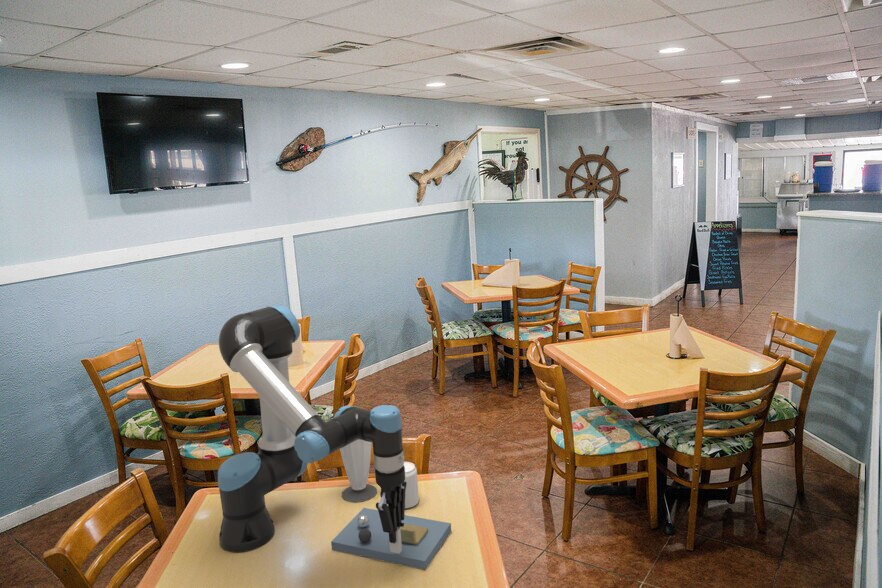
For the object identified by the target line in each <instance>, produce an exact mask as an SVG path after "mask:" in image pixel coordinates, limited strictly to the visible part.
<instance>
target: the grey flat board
mask: <svg viewBox="0 0 882 588" xmlns="http://www.w3.org/2000/svg"><path fill="white" fill-rule="evenodd" d="M360 515H366V516H368V518H369V524H368V526H366V527H365V528H361V527H359V526H358V525H357V518H358V517H359V516H360ZM402 523H404V525H405V524H409V525H414V526H419V527H425V528H428V532H427V533H426V535H425V536H424V537H423V539H422V540H421V542H420V543H419V544H418V545H414V544H409V543H404V542H401V543H402V551H401V552H400V554H399V553H394V552H390V543H389V533H387V532H383V528H382V524H381V520H380V516H379V512H378V509H374V508H369V507H362V509H361V510H359V512H358V513H357V514H355V516H354V517H353V518H352V519H351V520H350V522H348V523H347V525H346V526H345V527H344V528H343V529H342V530H340V532H339V533H338V534H337V535H336V536H335V537H334V538H333V539H332V540H331V551H336V552H340V553H344V554H350V555H354V556H359V557H363V558H369V559H372V560H378V561H380V562H381V561H382V562H387V563H392V564H396V565H401V566H406V567H411V568H415V569H420V570H424V571H426V570H427V569H428V567H429V566H430V564H431V563H432V561H433V560H434V559H435V557H436V555H437V553H438V552H439V550H440V549H441V547H442V546H443V544H444V543H445V541H446V540H447V538H448V537H449V535H450V533H452V523H451V522H446V521H440V520H435V519H428V518H425V517H423V518H422V517H419V516H413V515H406V514H405V515H404V520H402ZM362 529H368V530H370V532H371V539H370V540H369V541H368V542H361V541H360V540H359V537H358V535H359V532H360V531H361V530H362Z"/></svg>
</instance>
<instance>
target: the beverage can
mask: <svg viewBox="0 0 882 588" xmlns="http://www.w3.org/2000/svg"><path fill="white" fill-rule="evenodd" d="M404 467H405V481H404V482H407V485H406V490H405V509H410V508H413V507H414V506H416V505H418V503H419V501H420V499H419V485H418V484H419V483H418V482H419V481H418V469H417V467H416V466H415V463H413V462H410V461H404Z"/></svg>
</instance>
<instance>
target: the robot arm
mask: <svg viewBox="0 0 882 588" xmlns="http://www.w3.org/2000/svg"><path fill="white" fill-rule="evenodd" d="M300 335H301V327H300V324H299V320H298V319H297V317H296V315H295V314H294V313H293V311H292V310H290V308H288V307H287V306H285V305H281V304H280V305H274V306H266V307H263V308H259V309H255V310H252V311H249V312H245V313H239V314H236V315H233V316H232V317H230V318H229V319H227V321H225V323H224V325H222V328H221V329H220V331H219V336H218V348H219V352H220V355H221V357H222V359H223V361H224V362H225V364H226V365H227V367H228V368H229V369H230V370H231V371H232V372H234V373H239V374H240V375H241V376H242V377H243V379H244V380H245V381H246V382H247V383H248V384H249V385H250V386H251V388H252V389H253V390H254V391H255V393H257V394H258V395H259V403H260V405H259V406H260V416H261V428H262V429H261V431H262V436H261V438H260V439H259V441H258V442H257V446H258V447H257V448H258V449H257V450H258V452H257V453H256V452H252V451H246V452H245V451H244V452H242V453H237V454H234V455H232V456H231V457H229V458H228V457H227V459H226V460H224V461H223V462H222V463H221V464H220V466H219V468H218V470H217V486H218V490H219V491H218V492H219V495H220V496H219V497H220V498H219V499H220V504H221V511H222V521H221V525H220V530H219V534H218V538H219V546H220V547H221V548H222V549H223V550H225V551H227V552H231V553H242V552H248V551H252V550H255V549H258V548H260V547H262V546H264V545H265V544H267V543H268V542H269V541H270V540H272V539H273V537H274V535H275V532H276V529H275V523H274V520H273V519H272V517H271V515H270V513H269V511H268V509H267V507H266V499H265V496H266V495H267V494H269V493H271V492H273V491H274V490H277V489H278V488H280V487H282V486H284V485H285V484H288V483H289V482H290V483H291V482H292V481H295V480H296V479H298V477H300V476H301V475H303V474H304V473H305V471H306V470H307V468H308V464H312V463H315V462H317V461H320V460H323V459H325V458H327V457H328V456H329V455H331V454H333V453H335V452H337V451H338V450H340V448H342V447H345V446H346V445H348V444H350V443H352V442H354V441H356V440H358V439H360V440H364V441H368V442H372V444H371V445H372V452H373V453H372V454H373V466H374V475H375V477H374V478H375V483H376V484H377V486H379V488H380V494H379V495H380V500H379V502H375V508H376V510H378V512H379V516H380V520H381V524H382V528H383V532H387V533H389V543H390V552H394V553H399V554H400V552H401V551H402V543H401V530H400V527H403V526H404V523H402V520H404V515H406V514H405V510H406V508H405V490H406V485H407V482H404V481H405V467H404V462H405V456H404V446H403V423H402V416H401V411H400V409H399V408H398V407H397V406H395V405H391V404H387V405H386V404H382V405H378V406H375V407H372V409H371V410H368V409H366V408H365V409H364V408H361V407H358V406H354V405H352V406H351V405H344V406H340V408H338V411H336V412H335V413H334V416H333V418H331V419H329V420H327V421H325V420H324V419H323V418H322V417H321V415H319V414H318V413H317V412H316V410H315V409H314V408H313V407H312V406H311V405H310V404H309V403H308V401H306V399H304V396H302V395H301V394H300V393H299V392H298V391H297V389H296V388H295V387H294V386H293V384H291V382H290V373H289V372H290V371H289V361H288V359H289V357H291V355H292V354H293V343H296V342H297V340H298V338H300Z"/></svg>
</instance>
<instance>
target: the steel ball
mask: <svg viewBox="0 0 882 588" xmlns="http://www.w3.org/2000/svg"><path fill="white" fill-rule="evenodd" d="M368 524H369V518H368V516H366V515H360V516H359V517H358V518H357V525H358V526H359V527H361V528H365V527H366V526H368Z"/></svg>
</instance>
